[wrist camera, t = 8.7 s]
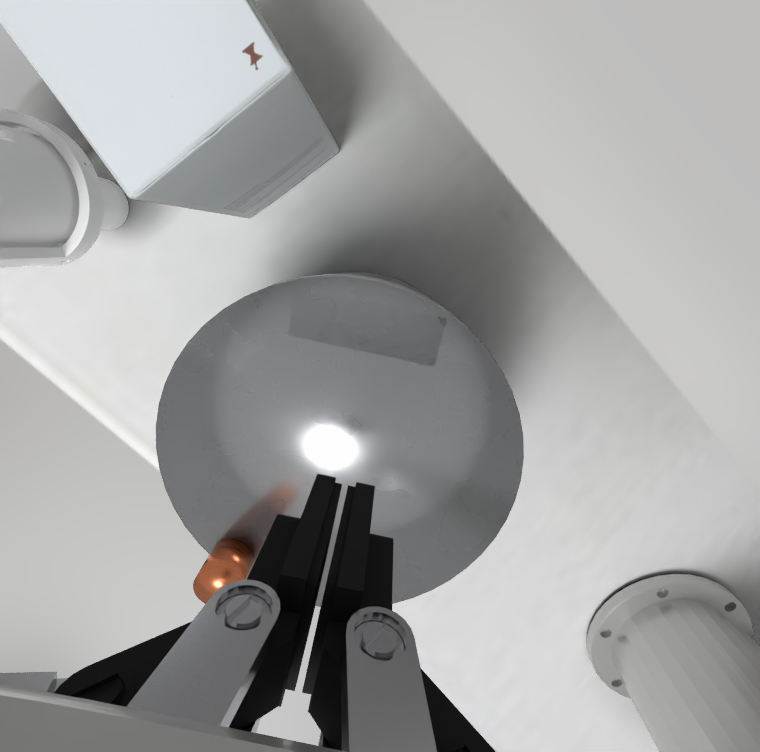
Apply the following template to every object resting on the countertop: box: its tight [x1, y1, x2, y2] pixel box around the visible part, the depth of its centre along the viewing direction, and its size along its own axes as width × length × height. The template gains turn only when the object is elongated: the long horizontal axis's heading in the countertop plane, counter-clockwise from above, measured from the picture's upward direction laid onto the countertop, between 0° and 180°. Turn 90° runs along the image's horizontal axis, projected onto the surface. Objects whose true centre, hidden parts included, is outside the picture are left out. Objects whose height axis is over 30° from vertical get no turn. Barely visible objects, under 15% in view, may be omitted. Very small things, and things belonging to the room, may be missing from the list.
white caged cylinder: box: [0, 109, 129, 268], centre depth 20 cm, size 7×7×15 cm
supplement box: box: [0, 0, 339, 218], centre depth 20 cm, size 7×7×13 cm
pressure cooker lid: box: [156, 274, 524, 607], centre depth 18 cm, size 16×16×4 cm
